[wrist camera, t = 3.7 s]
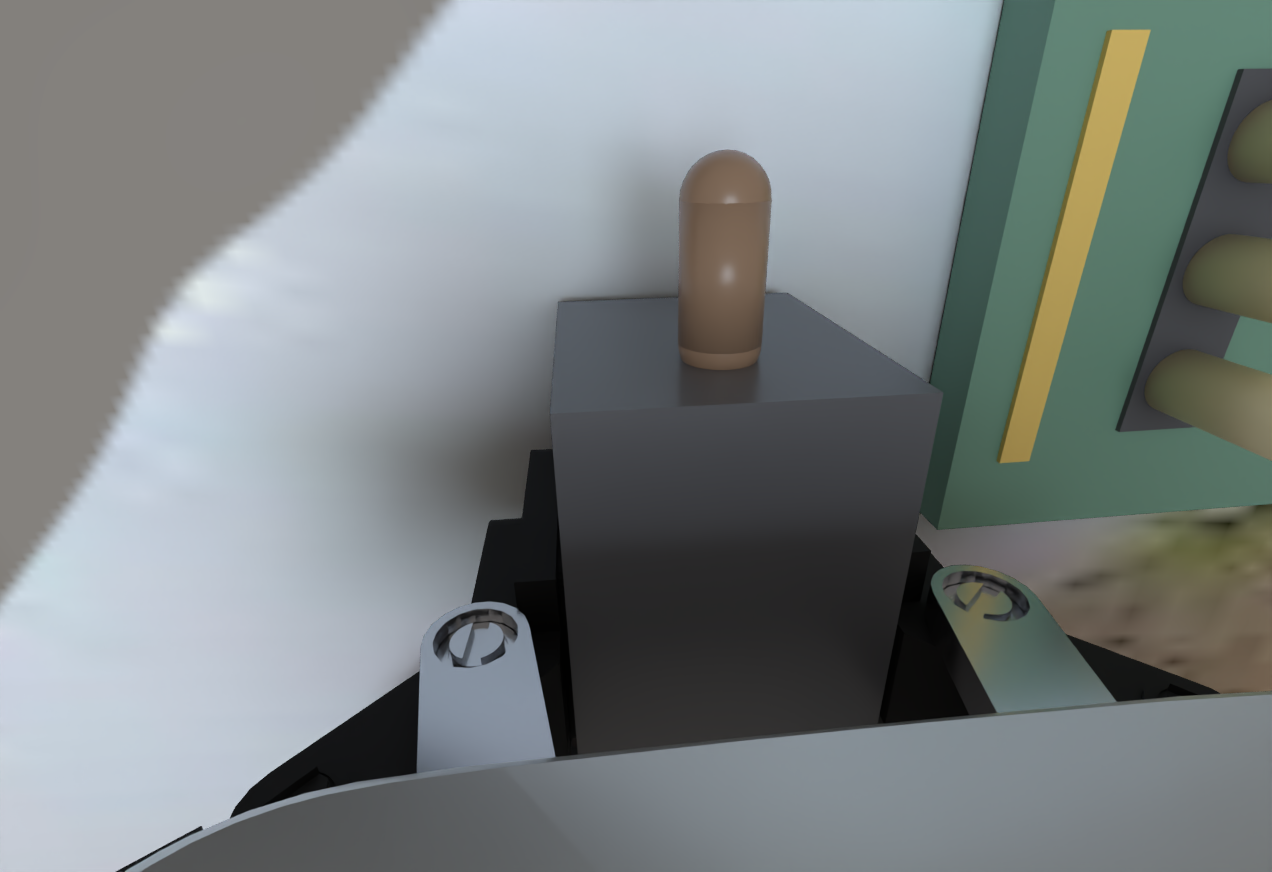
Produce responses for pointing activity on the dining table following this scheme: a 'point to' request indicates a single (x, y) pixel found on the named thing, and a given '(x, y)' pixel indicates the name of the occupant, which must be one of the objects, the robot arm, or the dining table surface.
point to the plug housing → (730, 494)
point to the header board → (1112, 270)
